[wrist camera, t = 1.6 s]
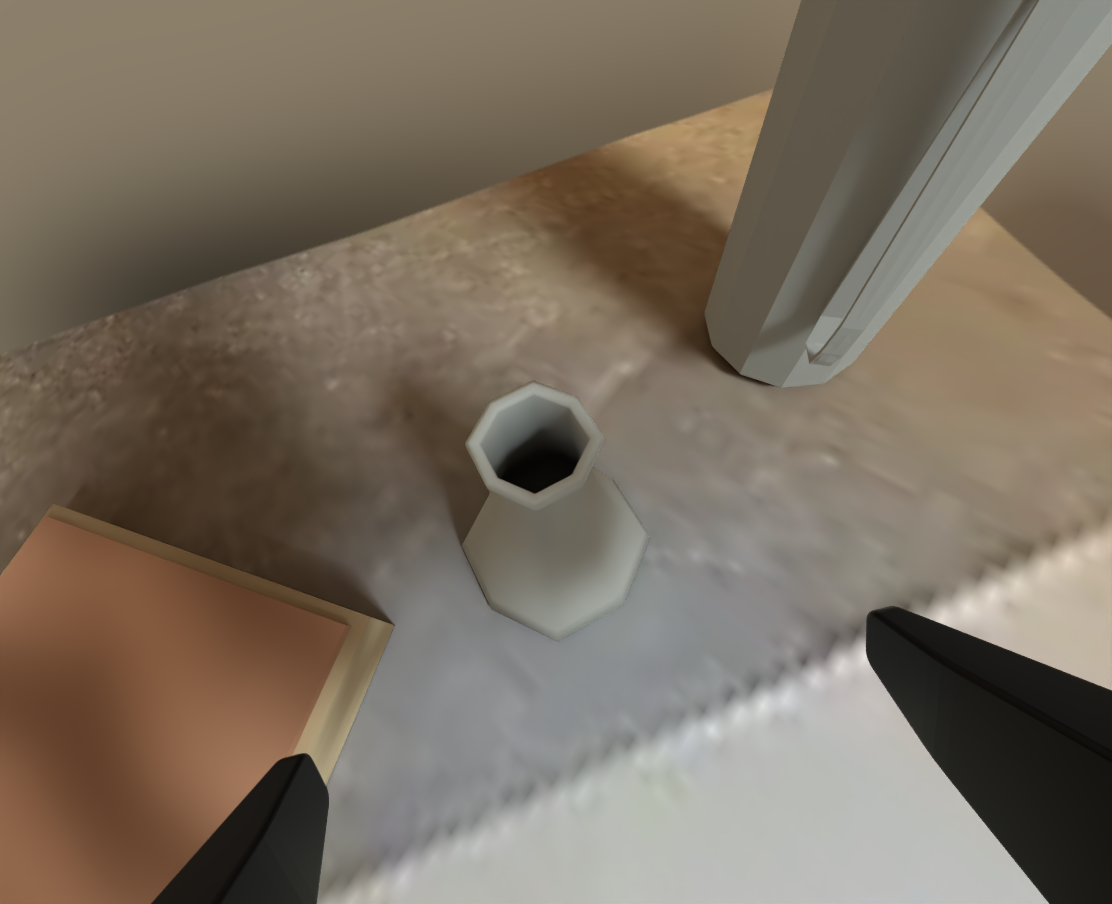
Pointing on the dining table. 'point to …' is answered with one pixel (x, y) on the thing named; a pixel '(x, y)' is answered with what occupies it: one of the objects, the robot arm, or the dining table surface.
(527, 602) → the flask
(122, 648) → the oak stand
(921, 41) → the water bottle
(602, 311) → the dining table surface
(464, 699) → the dining table surface
